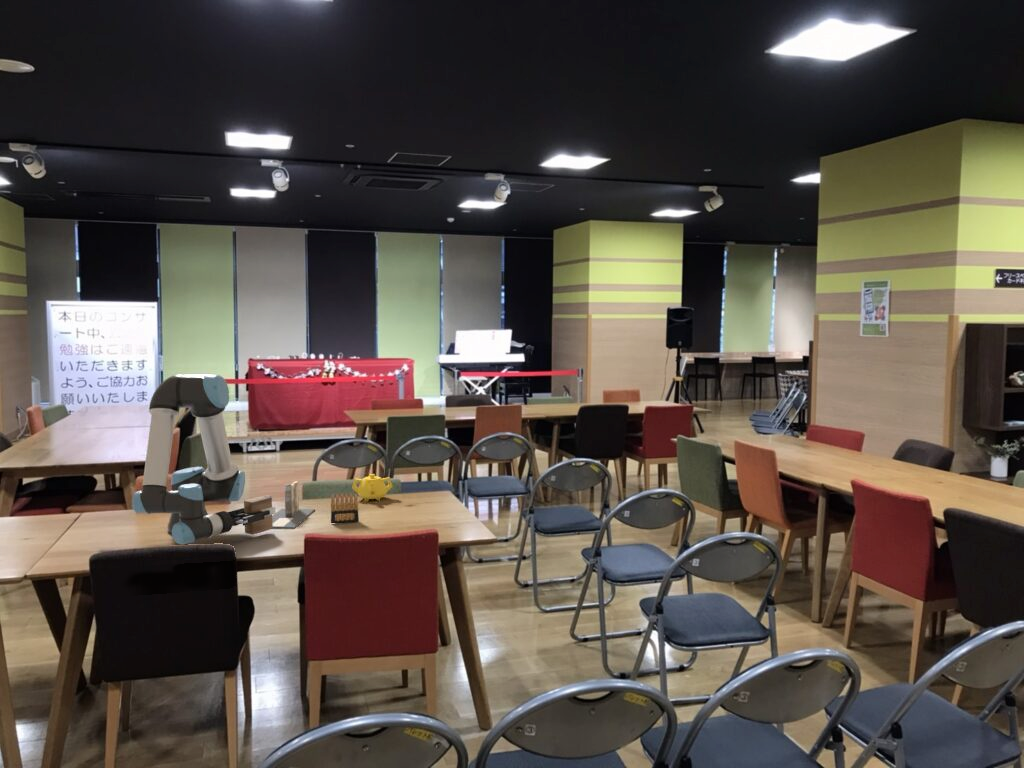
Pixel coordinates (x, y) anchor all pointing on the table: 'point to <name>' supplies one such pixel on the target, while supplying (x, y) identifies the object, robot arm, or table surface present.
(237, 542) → the table surface
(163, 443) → the robot arm
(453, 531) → the table surface
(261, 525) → the brown rectangular block
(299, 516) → the mat
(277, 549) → the table surface
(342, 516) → the ammunition clip
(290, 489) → the birch hinge leaf
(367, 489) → the teapot
